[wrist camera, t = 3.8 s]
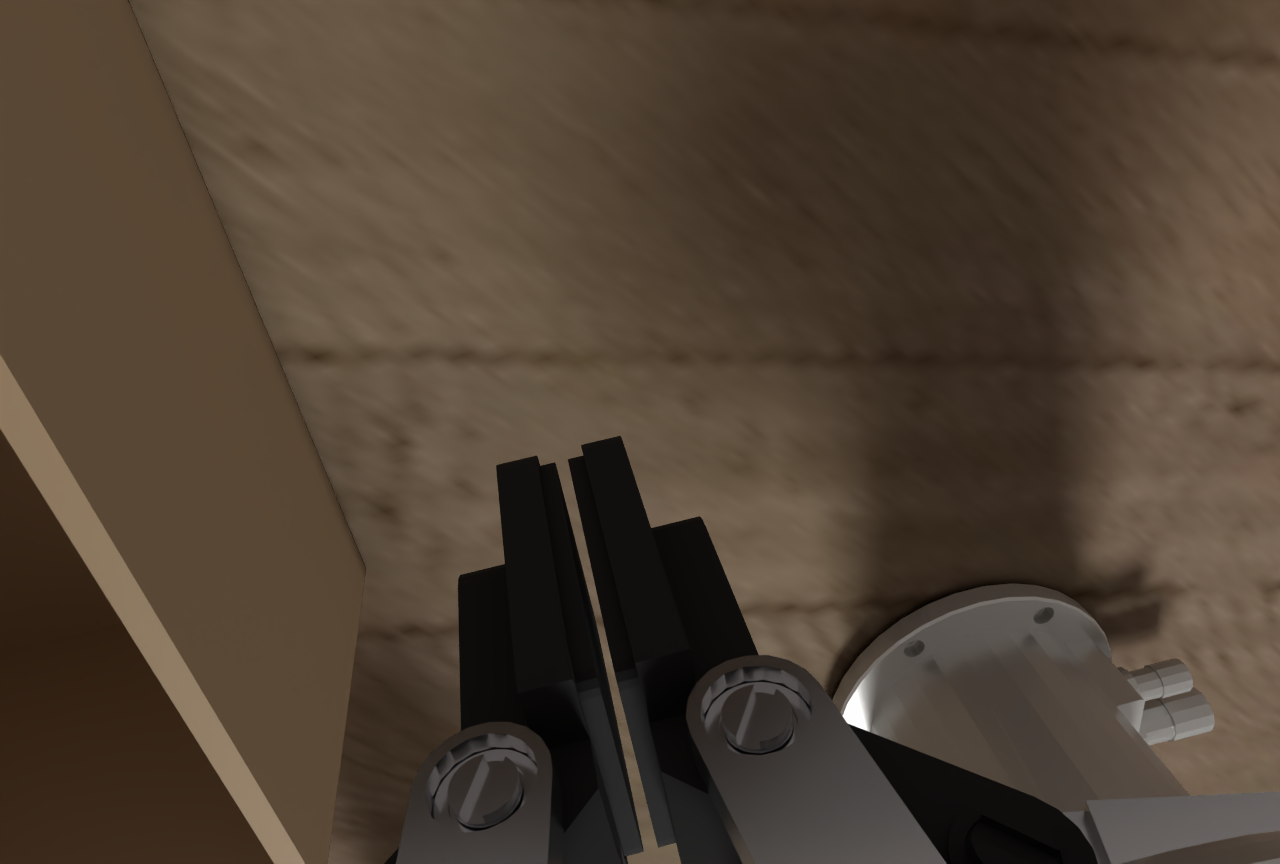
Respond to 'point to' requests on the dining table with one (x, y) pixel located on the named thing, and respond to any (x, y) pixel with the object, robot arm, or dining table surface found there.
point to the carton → (150, 491)
